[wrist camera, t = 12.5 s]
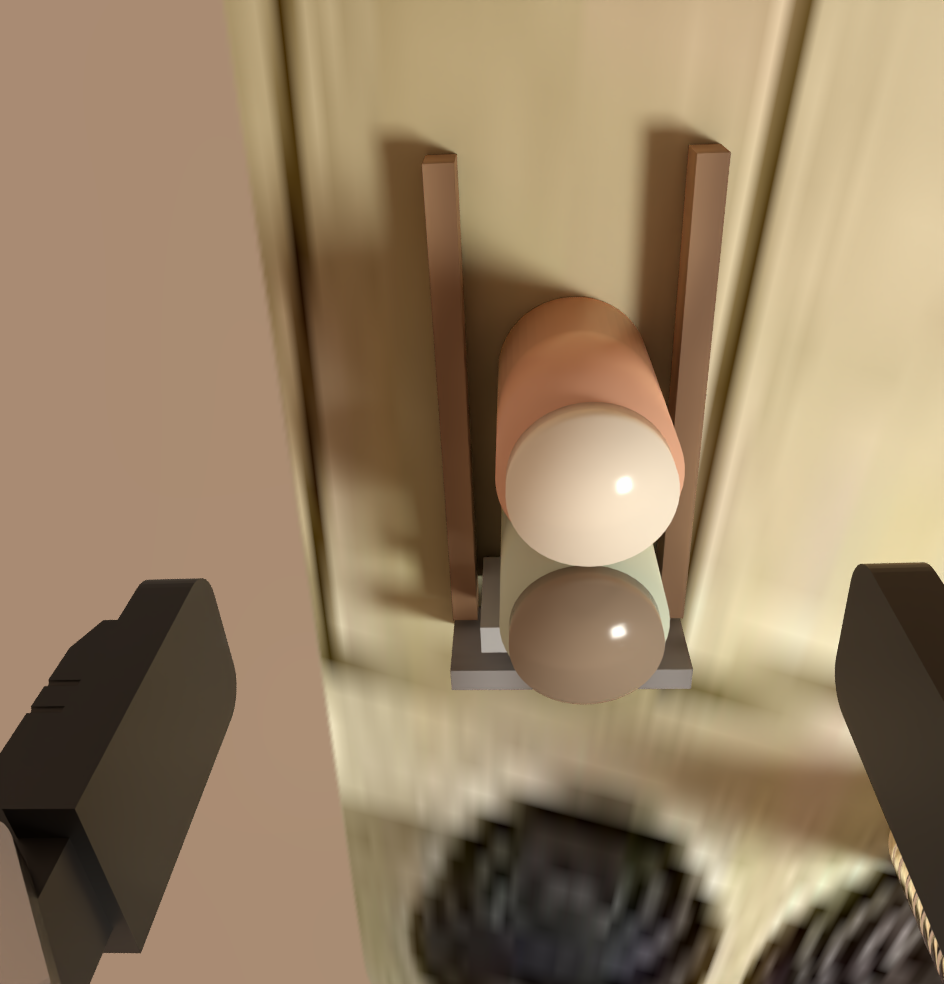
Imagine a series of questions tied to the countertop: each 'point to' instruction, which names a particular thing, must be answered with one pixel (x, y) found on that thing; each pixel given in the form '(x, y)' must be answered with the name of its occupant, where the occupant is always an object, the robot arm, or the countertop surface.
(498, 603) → the plate
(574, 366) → the terracotta jar
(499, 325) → the countertop surface
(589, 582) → the sage jar
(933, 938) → the water bottle
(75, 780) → the robot arm
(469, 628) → the lane
